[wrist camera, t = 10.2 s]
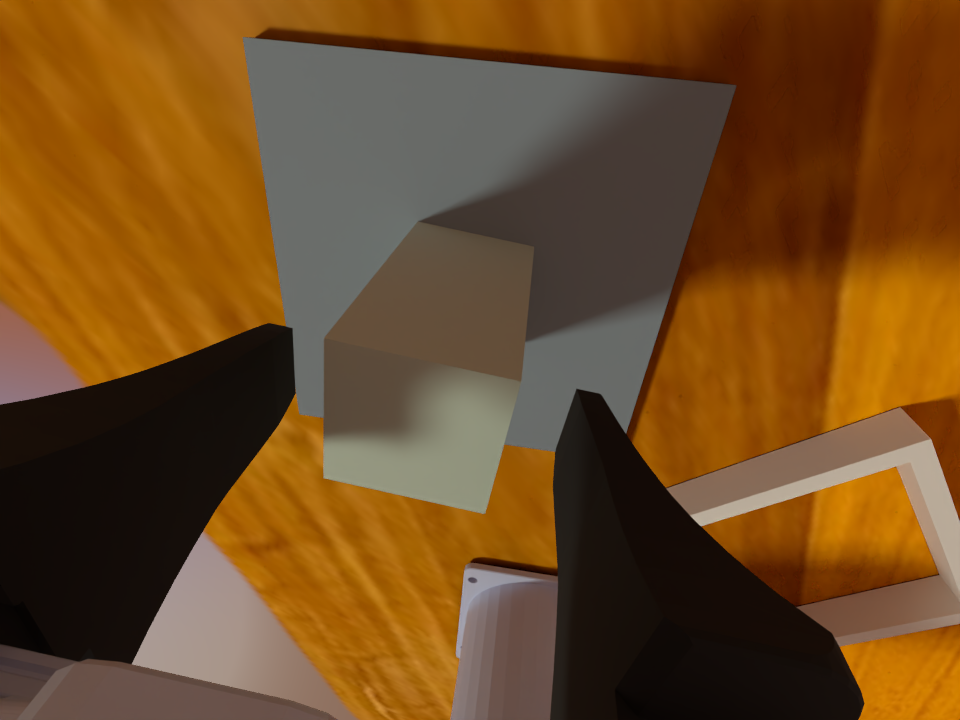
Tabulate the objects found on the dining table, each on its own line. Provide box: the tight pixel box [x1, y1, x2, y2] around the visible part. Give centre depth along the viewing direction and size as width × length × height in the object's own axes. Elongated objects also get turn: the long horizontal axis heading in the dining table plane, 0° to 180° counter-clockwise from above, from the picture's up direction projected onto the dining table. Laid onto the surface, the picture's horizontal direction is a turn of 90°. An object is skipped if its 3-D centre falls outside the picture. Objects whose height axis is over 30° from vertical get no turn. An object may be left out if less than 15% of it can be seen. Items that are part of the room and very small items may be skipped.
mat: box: [243, 37, 736, 452], centre depth 18 cm, size 14×14×1 cm
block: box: [324, 222, 534, 514], centre depth 14 cm, size 4×4×8 cm
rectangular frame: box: [666, 407, 960, 646], centre depth 22 cm, size 12×12×2 cm
